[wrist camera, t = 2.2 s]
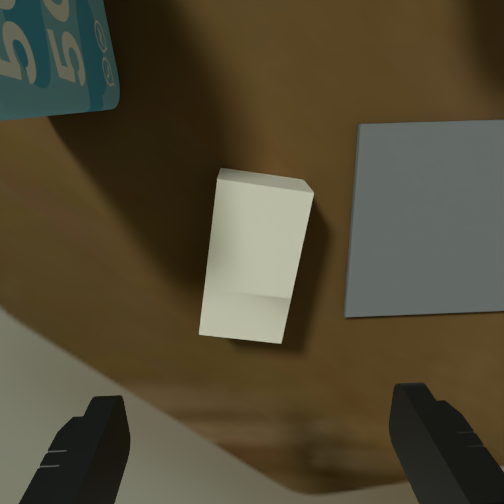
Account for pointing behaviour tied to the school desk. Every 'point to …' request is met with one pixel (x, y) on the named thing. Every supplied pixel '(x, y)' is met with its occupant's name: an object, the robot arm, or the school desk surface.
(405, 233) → the mat
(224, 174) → the white rectangular block
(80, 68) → the data package
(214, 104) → the school desk surface
